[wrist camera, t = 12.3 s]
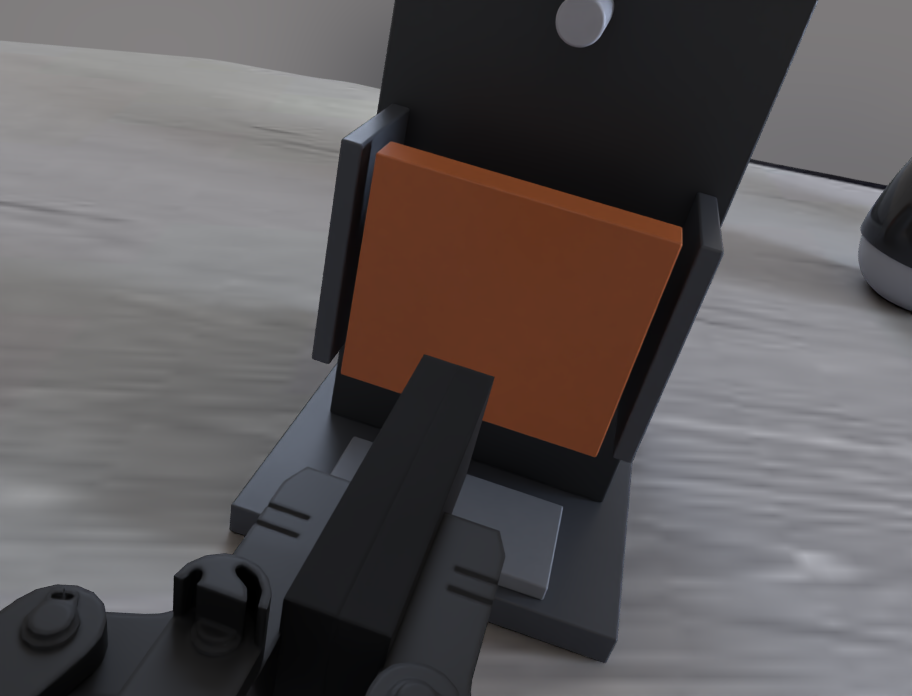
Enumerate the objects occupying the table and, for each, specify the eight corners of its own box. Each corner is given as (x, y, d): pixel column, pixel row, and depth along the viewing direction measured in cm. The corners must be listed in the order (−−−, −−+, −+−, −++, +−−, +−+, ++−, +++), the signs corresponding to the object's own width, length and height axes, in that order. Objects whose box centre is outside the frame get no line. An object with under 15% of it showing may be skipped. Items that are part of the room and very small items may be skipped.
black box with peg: (605, 664, 25) (973, -56, 14) (228, 530, 26) (287, -227, 15) (630, 406, 37) (831, -76, 26) (375, 325, 39) (466, -168, 28)
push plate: (596, 458, 23) (683, 243, 19) (339, 374, 24) (375, 152, 20) (599, 434, 24) (682, 226, 20) (353, 355, 25) (390, 140, 21)
